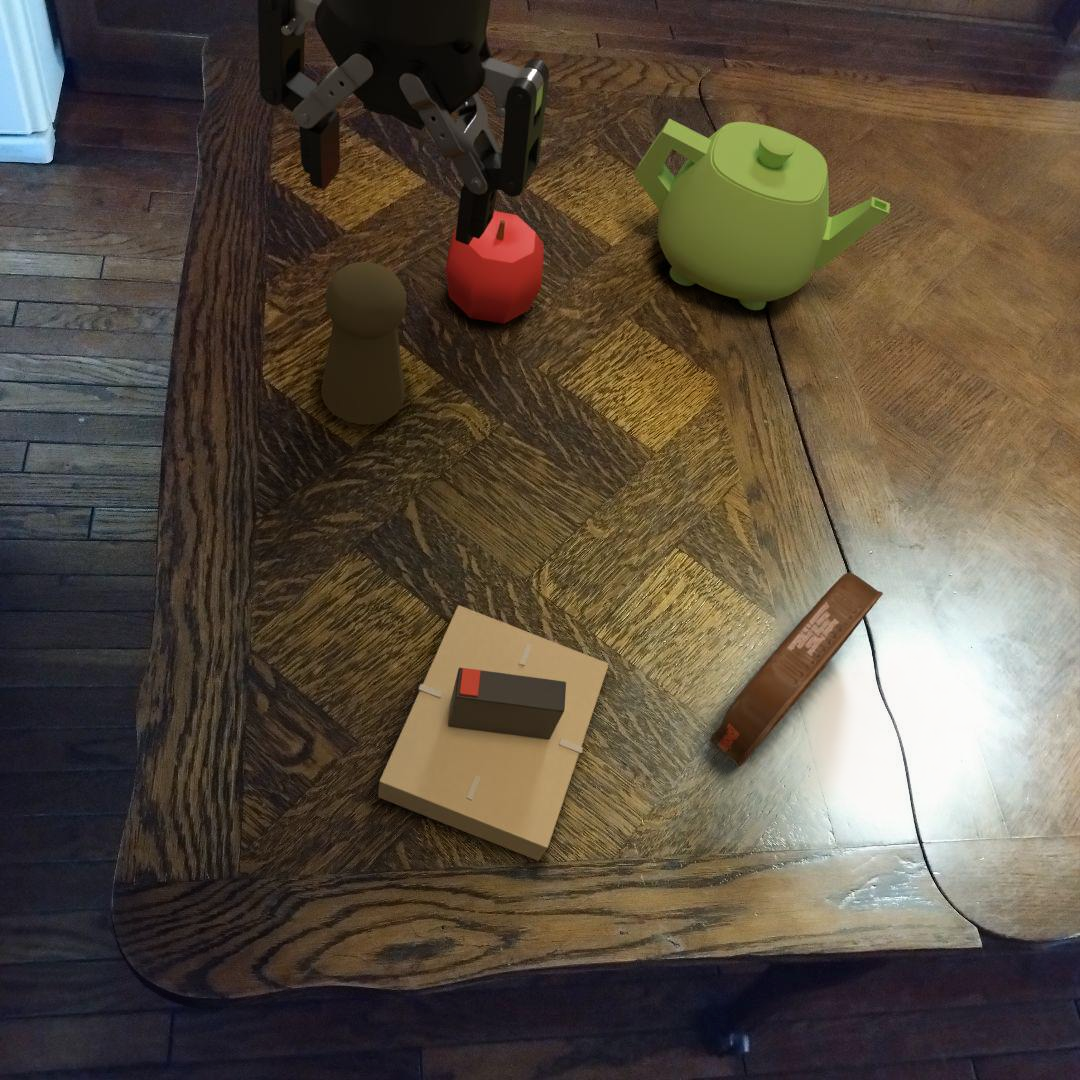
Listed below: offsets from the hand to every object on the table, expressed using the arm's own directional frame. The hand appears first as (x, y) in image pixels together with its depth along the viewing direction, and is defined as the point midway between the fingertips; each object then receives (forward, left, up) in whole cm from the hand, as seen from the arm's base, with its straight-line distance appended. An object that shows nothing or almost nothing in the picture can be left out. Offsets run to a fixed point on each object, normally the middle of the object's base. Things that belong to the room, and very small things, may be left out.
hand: (396, 206), depth 54 cm
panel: (-19, -15, -20) cm, 31 cm away
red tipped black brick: (-19, -15, -17) cm, 29 cm away
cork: (+2, +3, -20) cm, 20 cm away
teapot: (+29, -19, -20) cm, 40 cm away
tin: (-9, -31, -20) cm, 38 cm away
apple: (+15, -2, -20) cm, 25 cm away
